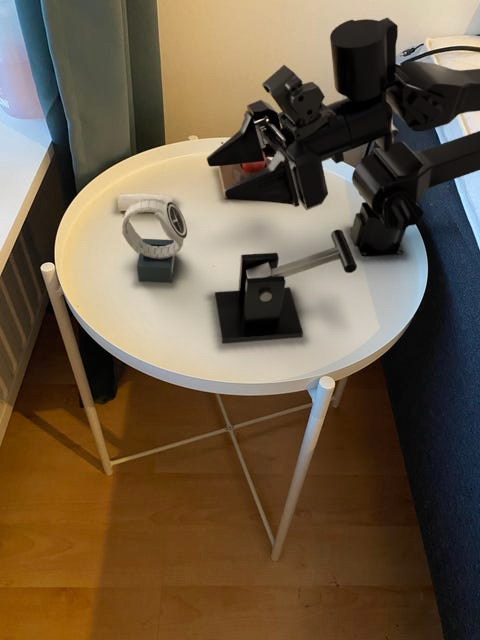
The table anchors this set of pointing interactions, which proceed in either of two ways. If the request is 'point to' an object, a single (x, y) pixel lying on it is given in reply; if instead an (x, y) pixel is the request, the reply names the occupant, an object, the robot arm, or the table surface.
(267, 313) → the bracket
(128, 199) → the white curved plate
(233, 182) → the button block
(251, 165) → the button
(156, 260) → the watch
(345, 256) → the lever
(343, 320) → the table surface
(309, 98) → the robot arm
